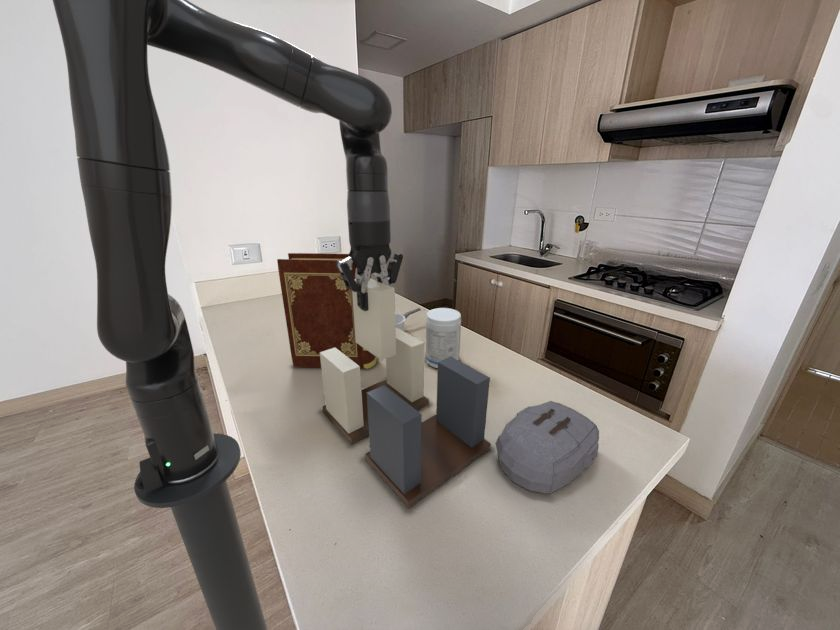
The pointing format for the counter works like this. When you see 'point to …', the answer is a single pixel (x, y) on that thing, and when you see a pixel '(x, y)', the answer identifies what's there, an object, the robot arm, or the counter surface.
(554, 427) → the grey rounded bag
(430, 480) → the book rack
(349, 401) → the cream book left
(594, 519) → the counter surface
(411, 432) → the grey book left
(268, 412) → the counter surface
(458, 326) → the supplement tub
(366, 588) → the counter surface
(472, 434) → the grey book right
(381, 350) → the cream book
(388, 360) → the cream book right
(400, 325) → the saucepan
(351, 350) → the decorative book
